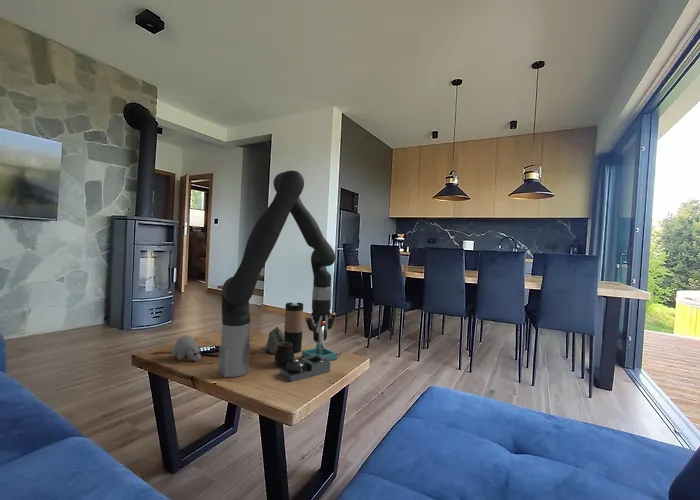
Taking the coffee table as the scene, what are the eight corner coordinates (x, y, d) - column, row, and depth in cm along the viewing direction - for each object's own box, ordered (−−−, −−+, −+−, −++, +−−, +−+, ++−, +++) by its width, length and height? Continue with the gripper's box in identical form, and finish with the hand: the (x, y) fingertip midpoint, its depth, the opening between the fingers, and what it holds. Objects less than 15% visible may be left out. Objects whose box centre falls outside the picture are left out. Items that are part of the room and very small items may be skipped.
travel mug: (292, 354, 138) (294, 306, 138) (279, 350, 143) (281, 303, 143) (305, 350, 144) (307, 304, 144) (293, 346, 149) (294, 301, 149)
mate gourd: (285, 360, 132) (287, 334, 132) (298, 365, 127) (299, 339, 127) (270, 364, 126) (271, 337, 126) (283, 370, 121) (284, 342, 121)
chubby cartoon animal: (187, 371, 123) (194, 351, 122) (167, 353, 128) (173, 334, 126) (203, 365, 130) (210, 346, 128) (184, 348, 134) (190, 330, 133)
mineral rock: (280, 343, 153) (281, 321, 153) (297, 348, 146) (298, 325, 146) (257, 350, 143) (258, 326, 143) (273, 355, 136) (274, 331, 136)
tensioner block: (291, 381, 111) (291, 365, 111) (279, 374, 117) (279, 358, 117) (330, 371, 121) (330, 356, 121) (317, 365, 128) (317, 350, 127)
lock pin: (318, 355, 132) (319, 322, 132) (312, 352, 136) (313, 320, 135) (326, 353, 135) (328, 321, 135) (320, 351, 138) (322, 319, 138)
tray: (315, 364, 128) (316, 357, 128) (301, 356, 136) (302, 350, 136) (336, 359, 135) (336, 353, 135) (322, 352, 142) (322, 346, 142)
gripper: (312, 300, 128) (310, 346, 128) (341, 298, 137) (339, 340, 137) (301, 297, 133) (300, 341, 134) (330, 295, 142) (328, 336, 143)
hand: (320, 340), depth 135 cm, fingers closed on lock pin, 3 cm apart
